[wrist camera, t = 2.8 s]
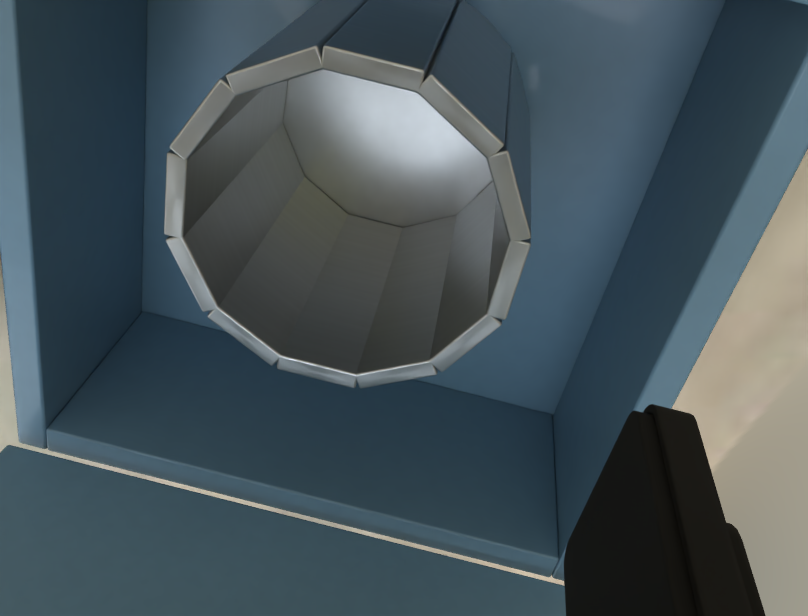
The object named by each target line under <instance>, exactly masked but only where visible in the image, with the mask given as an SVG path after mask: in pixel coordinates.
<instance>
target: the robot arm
mask: <svg viewBox="0 0 808 616" xmlns="http://www.w3.org/2000/svg"><path fill="white" fill-rule="evenodd" d="M564 584H565V605H566V616H765V613H764V610H763V606H762V603H761V600H760V597H759V593H758V590H757V587H756V583H755V580H754V577H753V574H752V570H751V567H750V564H749V561H748V558H747V554H746V551H745V548H744V545H743V542H742V539H741V536H740V534H739V532H738V530H737V529H736V528H735V527H734V526H733V525H732V524H730V523H726V521H725V517H724V514H723V510H722V507H721V504H720V500H719V497H718V494H717V490H716V487H715V483H714V480H713V476H712V473H711V469H710V466H709V463H708V459H707V456H706V452H705V449H704V446H703V442H702V439H701V435H700V432H699V429H698V425H697V422H696V419H695V417H694V416H693V415H692V414H689V413H685V412H681V411H678V410H674V409H670V408H666V407H662V406H658V405H654V404H651V405H648V406H647V407H646V408H645V410H644V411H643V412H639V411H635V410H634V411H632V412H631V413H630V414H629V416H628V418H627V419H626V422H625V424H624V426H623V428H622V430H621V432H620V434H619V436H618V438H617V440H616V442H615V444H614V447H613V449H612V451H611V453H610V455H609V457H608V459H607V461H606V463H605V465H604V467H603V469H602V472H601V474H600V476H599V478H598V480H597V482H596V484H595V486H594V488H593V490H592V492H591V494H590V497H589V499H588V501H587V503H586V505H585V507H584V509H583V511H582V513H581V515H580V517H579V519H578V522H577V524H576V526H575V528H574V530H573V532H572V534H571V536H570V538H569V541H568V543H567V547H566V551H565V556H564Z"/></svg>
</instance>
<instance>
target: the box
mask: <svg viewBox="0 0 808 616" xmlns="http://www.w3.org/2000/svg"><path fill="white" fill-rule="evenodd" d="M320 1H321V0H0V253H1V263H2V273H3V284H4V294H5V304H6V314H7V324H8V335H9V345H10V355H11V365H12V375H13V386H14V396H15V406H16V416H17V427H18V437H19V442H20V443H23V444H27V445H31V446H35V447H39V448H43V449H46V448H48V450H50V451H54V452H58V453H62V454H66V455H70V456H74V457H78V458H82V459H86V460H89V461H93V462H97V463H101V464H105V465H109V466H113V467H117V468H121V469H125V470H129V471H133V472H137V473H141V474H145V475H149V476H152V477H156V478H160V479H164V480H168V481H172V482H176V483H180V484H184V485H188V486H192V487H196V488H200V489H204V490H208V491H212V492H215V493H219V494H223V495H227V496H231V497H235V498H239V499H243V500H247V501H251V502H255V503H259V504H263V505H267V506H271V507H275V508H279V509H282V510H286V511H290V512H294V513H298V514H302V515H306V516H310V517H314V518H318V519H322V520H326V521H330V522H334V523H338V524H342V525H345V526H349V527H353V528H357V529H361V530H365V531H369V532H373V533H377V534H381V535H385V536H389V537H393V538H397V539H401V540H405V541H408V542H412V543H416V544H420V545H424V546H428V547H432V548H436V549H440V550H444V551H448V552H452V553H456V554H460V555H464V556H468V557H471V558H475V559H479V560H483V561H487V562H491V563H495V564H499V565H503V566H507V567H511V568H515V569H519V570H523V571H527V572H531V573H534V574H538V575H542V576H546V577H550V576H551V575H552V577H553V578H555V579H559V580H563V581H564V556H565V551H566V547H567V543H568V541H569V538H570V536H571V534H572V532H573V530H574V528H575V526H576V524H577V522H578V519H579V517H580V515H581V513H582V511H583V509H584V507H585V505H586V503H587V501H588V499H589V497H590V494H591V492H592V490H593V488H594V486H595V484H596V482H597V480H598V478H599V476H600V474H601V472H602V469H603V467H604V465H605V463H606V461H607V459H608V457H609V455H610V453H611V451H612V449H613V447H614V444H615V442H616V440H617V438H618V436H619V434H620V432H621V430H622V428H623V426H624V424H625V422H626V419H627V418H628V416H629V414H630V413H631V412H632V411H634V410H635V411H639V412H643V411H644V410H645V408H646V407H647V406H648V405H651V404H654V405H658V406H662V407H666V408H670V409H671V408H672V406H673V404H674V403H675V401H676V399H677V397H678V395H679V393H680V391H681V389H682V387H683V385H684V383H685V382H686V380H687V378H688V376H689V374H690V372H691V370H692V368H693V366H694V364H695V363H696V361H697V359H698V357H699V355H700V353H701V351H702V349H703V347H704V345H705V343H706V342H707V340H708V338H709V336H710V334H711V332H712V330H713V328H714V326H715V324H716V323H717V321H718V319H719V317H720V315H721V313H722V311H723V309H724V307H725V305H726V303H727V302H728V300H729V298H730V296H731V294H732V292H733V290H734V288H735V286H736V284H737V282H738V281H739V279H740V277H741V275H742V273H743V271H744V269H745V267H746V265H747V263H748V262H749V260H750V258H751V256H752V254H753V252H754V250H755V248H756V246H757V244H758V242H759V241H760V239H761V237H762V235H763V233H764V231H765V229H766V227H767V225H768V223H769V222H770V220H771V218H772V216H773V214H774V212H775V210H776V208H777V206H778V204H779V202H780V201H781V199H782V197H783V195H784V193H785V191H786V189H787V187H788V185H789V183H790V182H791V180H792V178H793V176H794V174H795V172H796V170H797V168H798V166H799V164H800V162H801V161H802V159H803V157H804V155H805V153H806V151H807V149H808V0H465V1H466V2H467V3H468V4H469V5H471V6H472V7H474V8H475V9H476V10H477V11H478V12H480V13H481V14H482V15H483V16H484V17H485V18H486V19H487V20H488V21H489V22H490V23H491V24H492V25H493V26H494V27H495V29H496V30H497V31H498V32H499V33H500V35H501V36H502V38H503V39H504V41H505V42H506V43H507V44H508V45H509V46H510V47H511V53H514V54H515V57H516V61H517V66H518V69H519V72H520V75H521V78H522V81H523V87H524V93H525V98H526V102H527V106H528V110H529V114H530V167H531V247H530V250H529V253H528V255H527V258H526V261H525V264H524V267H523V270H522V273H521V276H520V279H519V282H518V285H517V288H516V291H515V294H514V297H513V300H512V303H511V306H510V309H509V312H508V315H507V317H506V319H505V320H502V324H501V326H500V327H498V328H497V329H496V330H495V331H493V332H492V333H491V334H490V335H488V336H487V337H486V338H485V339H483V340H482V341H481V342H480V343H478V344H477V345H476V346H475V347H473V348H472V349H471V350H470V351H468V352H467V353H466V354H465V355H463V356H462V357H461V358H460V359H458V360H457V361H456V362H455V363H453V364H452V365H451V366H450V367H448V368H447V369H446V370H445V371H443V372H440V371H439V370H438V372H437V375H433V376H428V377H422V378H417V379H411V380H406V381H401V382H395V383H390V384H384V385H379V386H373V387H368V388H362V389H361V388H360V387H359V385H358V382H357V385H356V387H355V388H350V387H346V386H342V385H338V384H334V383H330V382H327V381H323V380H319V379H315V378H311V377H307V376H303V375H299V374H295V373H291V372H287V371H283V370H279V369H277V362H278V361H277V362H276V363H275V364H274V365H273V366H271V365H269V364H268V363H267V362H265V361H264V360H263V359H261V358H260V357H259V356H257V355H256V354H255V353H253V352H252V351H251V350H250V349H248V348H247V347H246V346H244V345H243V344H242V343H240V342H239V341H238V340H236V339H235V338H234V337H233V336H231V335H230V334H229V333H227V332H226V331H225V330H223V329H222V328H221V327H219V326H218V325H217V324H216V323H214V322H213V321H212V320H210V319H209V318H208V317H207V316H208V313H209V312H210V311H207V312H203V311H202V309H201V308H200V306H199V304H198V302H197V300H196V298H195V296H194V294H193V292H192V290H191V288H190V286H189V285H188V283H187V281H186V279H185V277H184V275H183V273H182V271H181V269H180V267H179V265H178V263H177V262H176V260H175V258H174V256H173V254H172V252H171V250H170V248H169V246H168V244H167V242H166V239H167V238H168V237H169V236H168V235H165V234H164V218H165V191H166V164H167V153H168V152H169V151H170V150H171V149H170V144H171V143H172V141H173V140H174V139H175V137H176V136H177V135H178V133H179V132H180V131H181V129H182V128H183V127H184V125H185V124H186V123H187V121H188V120H189V119H190V117H191V116H192V115H193V113H194V112H195V111H196V109H197V108H198V107H199V105H200V104H201V103H202V101H203V100H204V99H205V97H206V96H207V95H208V93H209V92H210V91H211V89H212V88H213V87H214V85H215V84H216V83H217V81H218V80H219V79H220V78H221V77H223V76H224V75H225V74H227V73H228V72H229V71H230V70H232V69H233V68H234V67H236V66H237V65H238V64H239V63H241V62H242V61H243V60H245V59H246V58H247V57H249V56H250V55H251V54H252V53H254V52H255V51H256V50H258V49H259V48H260V47H261V46H263V45H264V44H265V43H267V42H268V41H269V40H271V39H272V38H273V37H274V36H276V35H277V34H278V33H280V32H281V31H282V30H283V29H285V28H286V27H287V26H289V25H290V24H291V23H293V22H294V21H295V20H296V19H298V18H299V17H300V16H302V15H303V14H304V13H305V12H307V11H308V10H309V9H311V8H312V7H313V6H315V5H316V4H318V3H319V2H320Z"/></svg>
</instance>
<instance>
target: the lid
mask: <svg viewBox="0 0 808 616" xmlns="http://www.w3.org/2000/svg"><path fill="white" fill-rule="evenodd" d="M0 616H566V605H565V586H563V585H559V584H555V583H551V582H547V581H543V580H539V579H535V578H531V577H527V576H523V575H519V574H515V573H511V572H507V571H504V570H500V569H496V568H492V567H488V566H484V565H480V564H476V563H472V562H468V561H464V560H460V559H456V558H452V557H448V556H444V555H441V554H437V553H433V552H429V551H425V550H421V549H417V548H413V547H409V546H405V545H401V544H397V543H393V542H389V541H385V540H381V539H378V538H374V537H370V536H366V535H362V534H358V533H354V532H350V531H346V530H342V529H338V528H334V527H330V526H326V525H322V524H318V523H315V522H311V521H307V520H303V519H299V518H295V517H291V516H287V515H283V514H279V513H275V512H271V511H267V510H263V509H259V508H255V507H252V506H248V505H244V504H240V503H236V502H232V501H228V500H224V499H220V498H216V497H212V496H208V495H204V494H200V493H196V492H192V491H189V490H185V489H181V488H177V487H173V486H169V485H165V484H161V483H157V482H153V481H149V480H145V479H141V478H137V477H133V476H129V475H126V474H122V473H118V472H114V471H110V470H106V469H102V468H98V467H94V466H90V465H86V464H82V463H78V462H74V461H70V460H66V459H63V458H59V457H55V456H51V455H47V454H43V453H39V452H35V451H31V450H27V449H23V448H19V447H15V446H11V445H8V446H6V447H5V448H4V449H3V450H2V451H1V453H0Z"/></svg>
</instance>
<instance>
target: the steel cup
mask: <svg viewBox="0 0 808 616" xmlns="http://www.w3.org/2000/svg"><path fill="white" fill-rule="evenodd" d="M170 149H171V150H170V151H169V152H168V153H167V164H166V191H165V218H164V234H165V235H168V236H169V237H168V238H167V239H166V242H167V244H168V246H169V248H170V250H171V252H172V254H173V256H174V258H175V260H176V262H177V263H178V265H179V267H180V269H181V271H182V273H183V275H184V277H185V279H186V281H187V283H188V285H189V286H190V288H191V290H192V292H193V294H194V296H195V298H196V300H197V302H198V304H199V306H200V308H201V309H202V311H203V312H207V311H210V312H209V313H208V316H207V317H208V318H209V319H210V320H212V321H213V322H214V323H216V324H217V325H218V326H219V327H221V328H222V329H223V330H225V331H226V332H227V333H229V334H230V335H231V336H233V337H234V338H235V339H236V340H238V341H239V342H240V343H242V344H243V345H244V346H246V347H247V348H248V349H250V350H251V351H252V352H253V353H255V354H256V355H257V356H259V357H260V358H261V359H263V360H264V361H265V362H267V363H268V364H269V365H271V366H273V365H274V364H275V363H276V362H277V361H278V362H277V369H279V370H283V371H287V372H291V373H295V374H299V375H303V376H307V377H311V378H315V379H319V380H323V381H327V382H330V383H334V384H338V385H342V386H346V387H350V388H355V387H356V385H357V382H358V385H359V387H360V388H361V389H362V388H368V387H373V386H379V385H384V384H390V383H395V382H401V381H406V380H411V379H417V378H422V377H428V376H433V375H437V372H438V370H439V371H440V372H443V371H445V370H446V369H447V368H448V367H450V366H451V365H452V364H453V363H455V362H456V361H457V360H458V359H460V358H461V357H462V356H463V355H465V354H466V353H467V352H468V351H470V350H471V349H472V348H473V347H475V346H476V345H477V344H478V343H480V342H481V341H482V340H483V339H485V338H486V337H487V336H488V335H490V334H491V333H492V332H493V331H495V330H496V329H497V328H498V327H500V326H501V324H502V320H505V319H506V317H507V315H508V312H509V309H510V306H511V303H512V300H513V297H514V294H515V291H516V288H517V285H518V282H519V279H520V276H521V273H522V270H523V267H524V264H525V261H526V258H527V255H528V253H529V250H530V247H531V167H530V114H529V110H528V106H527V102H526V98H525V93H524V87H523V81H522V78H521V75H520V72H519V69H518V66H517V61H516V57H515V54H514V53H511V47H510V46H509V45H508V44H507V43H506V42H505V41H504V39H503V38H502V36H501V35H500V33H499V32H498V31H497V30H496V29H495V27H494V26H493V25H492V24H491V23H490V22H489V21H488V20H487V19H486V18H485V17H484V16H483V15H482V14H481V13H480V12H478V11H477V10H476V9H475V8H474V7H472V6H471V5H469V4H468V3H467V2H466V1H465V0H321V1H320V2H319V3H318V4H316V5H315V6H313V7H312V8H311V9H309V10H308V11H307V12H305V13H304V14H303V15H302V16H300V17H299V18H298V19H296V20H295V21H294V22H293V23H291V24H290V25H289V26H287V27H286V28H285V29H283V30H282V31H281V32H280V33H278V34H277V35H276V36H274V37H273V38H272V39H271V40H269V41H268V42H267V43H265V44H264V45H263V46H261V47H260V48H259V49H258V50H256V51H255V52H254V53H252V54H251V55H250V56H249V57H247V58H246V59H245V60H243V61H242V62H241V63H239V64H238V65H237V66H236V67H234V68H233V69H232V70H230V71H229V72H228V73H227V74H225V75H224V76H223V77H221V78H220V79H219V80H218V81H217V83H216V84H215V85H214V87H213V88H212V89H211V91H210V92H209V93H208V95H207V96H206V97H205V99H204V100H203V101H202V103H201V104H200V105H199V107H198V108H197V109H196V111H195V112H194V113H193V115H192V116H191V117H190V119H189V120H188V121H187V123H186V124H185V125H184V127H183V128H182V129H181V131H180V132H179V133H178V135H177V136H176V137H175V139H174V140H173V141H172V143H171V144H170Z"/></svg>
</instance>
